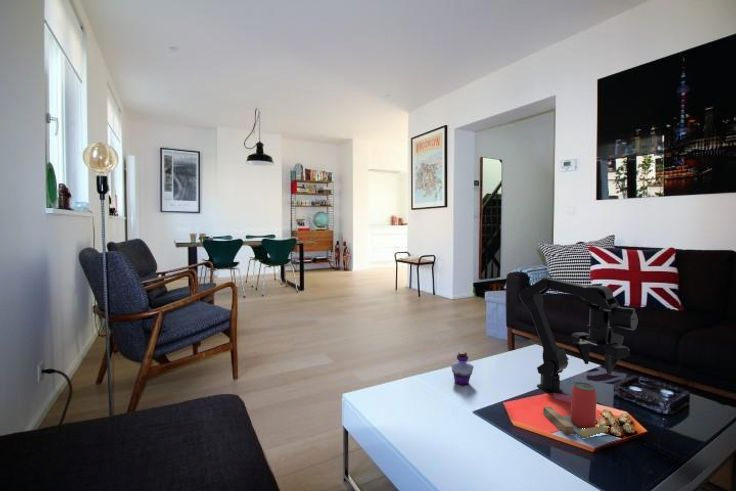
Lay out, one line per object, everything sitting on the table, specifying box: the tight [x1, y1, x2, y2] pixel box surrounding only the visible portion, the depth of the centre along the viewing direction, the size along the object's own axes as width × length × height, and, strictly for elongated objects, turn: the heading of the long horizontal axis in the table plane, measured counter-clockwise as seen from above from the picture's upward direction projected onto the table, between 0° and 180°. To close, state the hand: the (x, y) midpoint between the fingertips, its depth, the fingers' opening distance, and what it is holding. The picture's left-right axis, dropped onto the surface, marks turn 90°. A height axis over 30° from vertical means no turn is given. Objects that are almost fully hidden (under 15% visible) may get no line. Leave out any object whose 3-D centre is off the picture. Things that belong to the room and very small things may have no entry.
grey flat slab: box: [561, 414, 610, 439], centre depth 114 cm, size 11×11×2 cm
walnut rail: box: [542, 406, 575, 436], centre depth 115 cm, size 12×2×2 cm, turn 4°
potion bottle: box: [450, 351, 474, 387], centre depth 144 cm, size 9×9×12 cm
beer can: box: [570, 381, 598, 428], centre depth 114 cm, size 7×7×12 cm
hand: (597, 368), depth 126 cm, fingers open, 9 cm apart
